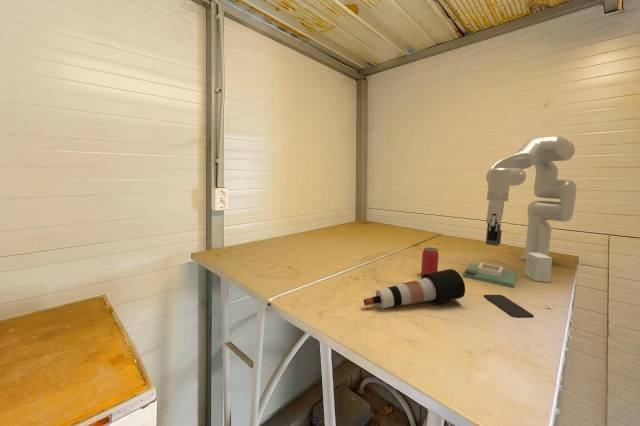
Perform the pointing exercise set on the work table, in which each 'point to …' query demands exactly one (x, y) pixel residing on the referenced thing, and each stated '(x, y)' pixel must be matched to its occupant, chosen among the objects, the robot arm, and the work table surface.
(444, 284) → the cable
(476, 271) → the circuit board
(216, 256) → the work table surface
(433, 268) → the beer can
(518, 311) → the phone
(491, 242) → the plug
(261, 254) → the work table surface
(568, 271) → the work table surface
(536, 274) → the small box
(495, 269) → the header socket
